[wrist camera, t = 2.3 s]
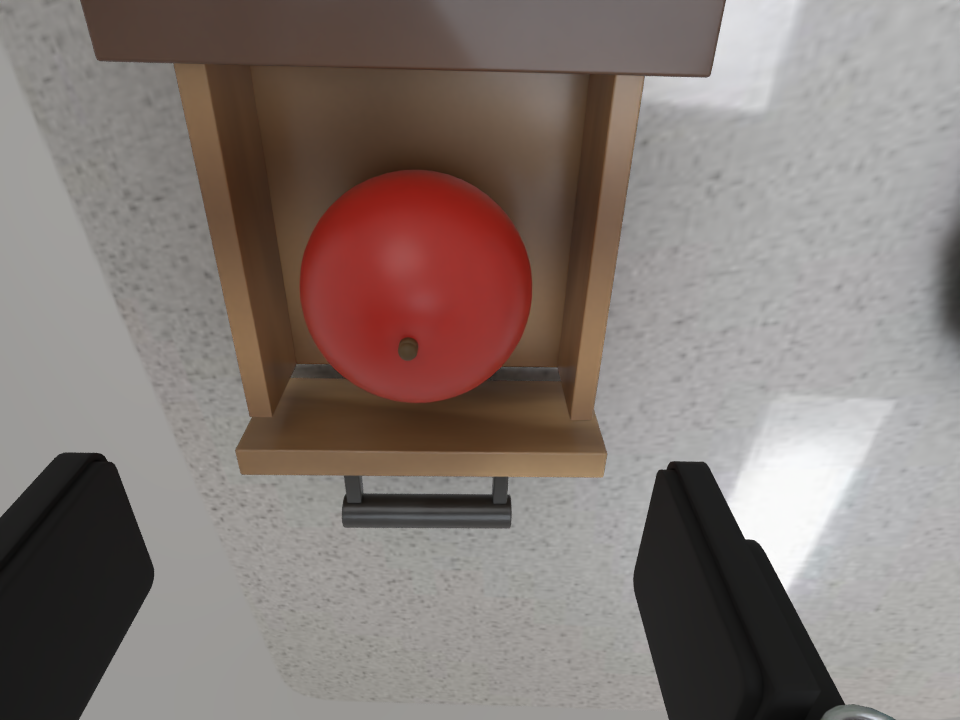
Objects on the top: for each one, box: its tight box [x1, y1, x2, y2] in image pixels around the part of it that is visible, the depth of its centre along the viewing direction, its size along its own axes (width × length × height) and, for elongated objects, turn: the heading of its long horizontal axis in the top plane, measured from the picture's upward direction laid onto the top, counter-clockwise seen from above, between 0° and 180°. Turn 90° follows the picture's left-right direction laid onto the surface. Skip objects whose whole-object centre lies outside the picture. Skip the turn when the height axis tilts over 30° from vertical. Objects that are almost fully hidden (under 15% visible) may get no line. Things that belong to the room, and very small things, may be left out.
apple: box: [299, 170, 532, 403], centre depth 18 cm, size 7×7×8 cm
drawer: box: [173, 63, 645, 528], centre depth 21 cm, size 21×13×5 cm, turn 179°
